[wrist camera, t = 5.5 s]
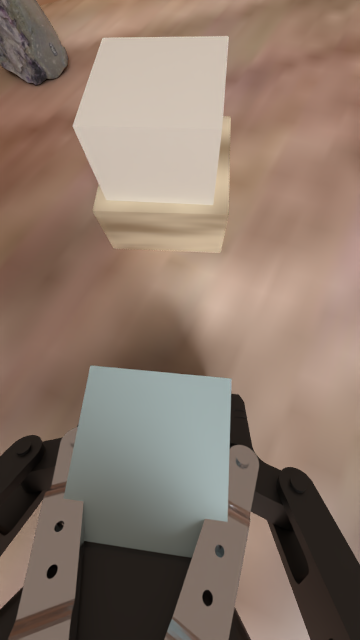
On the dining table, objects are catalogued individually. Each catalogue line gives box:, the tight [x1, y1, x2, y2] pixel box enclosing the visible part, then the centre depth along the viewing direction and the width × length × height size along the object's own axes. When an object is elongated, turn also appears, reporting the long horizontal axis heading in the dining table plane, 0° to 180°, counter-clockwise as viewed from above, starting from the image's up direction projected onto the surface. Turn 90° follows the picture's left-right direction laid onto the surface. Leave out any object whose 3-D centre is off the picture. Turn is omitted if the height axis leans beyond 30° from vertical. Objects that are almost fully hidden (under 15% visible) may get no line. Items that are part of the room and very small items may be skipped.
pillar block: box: [64, 365, 231, 558], centre depth 12 cm, size 5×5×10 cm
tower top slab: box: [73, 36, 229, 205], centre depth 15 cm, size 8×8×5 cm
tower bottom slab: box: [93, 117, 231, 253], centre depth 20 cm, size 10×10×5 cm
